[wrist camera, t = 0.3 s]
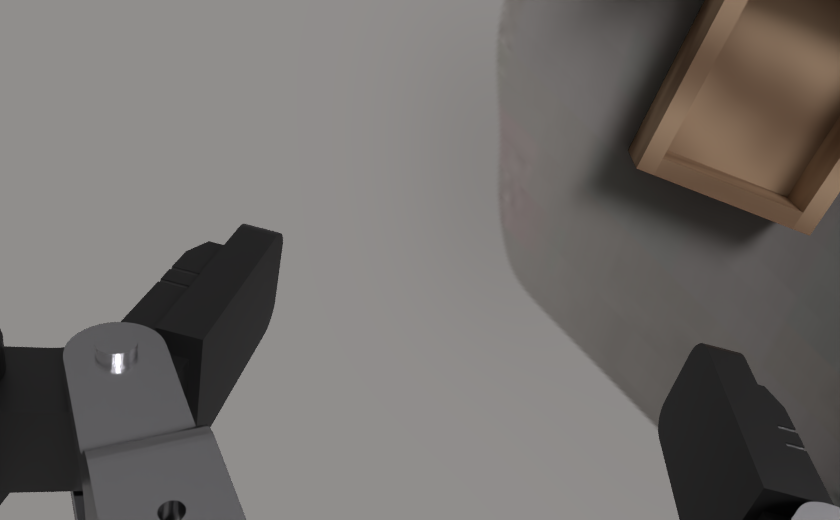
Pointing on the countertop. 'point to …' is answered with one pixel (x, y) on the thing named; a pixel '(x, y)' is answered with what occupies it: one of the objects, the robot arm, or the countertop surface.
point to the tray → (752, 110)
